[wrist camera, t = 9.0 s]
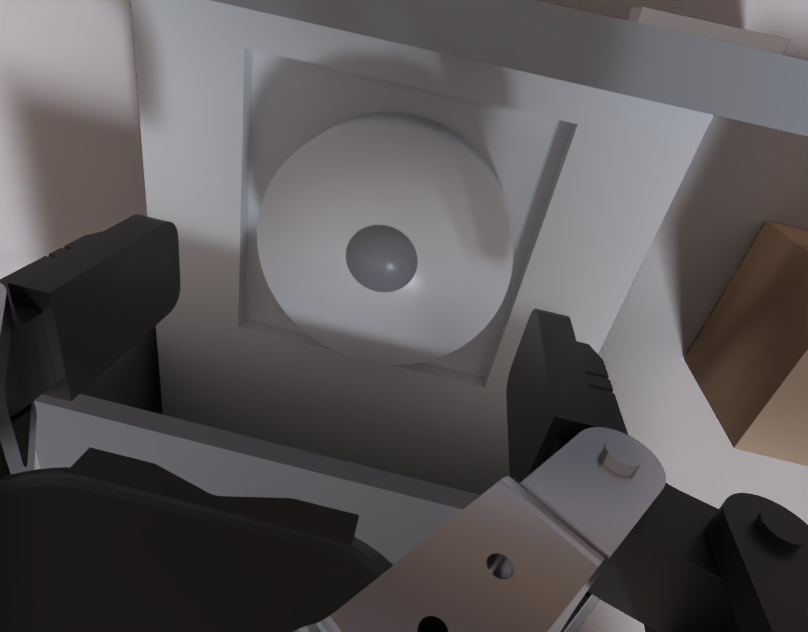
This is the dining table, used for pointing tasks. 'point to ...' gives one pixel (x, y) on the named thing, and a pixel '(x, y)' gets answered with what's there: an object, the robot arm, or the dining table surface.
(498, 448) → the tray
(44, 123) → the dining table surface
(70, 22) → the dining table surface
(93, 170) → the dining table surface
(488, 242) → the disc
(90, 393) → the block
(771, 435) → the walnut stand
